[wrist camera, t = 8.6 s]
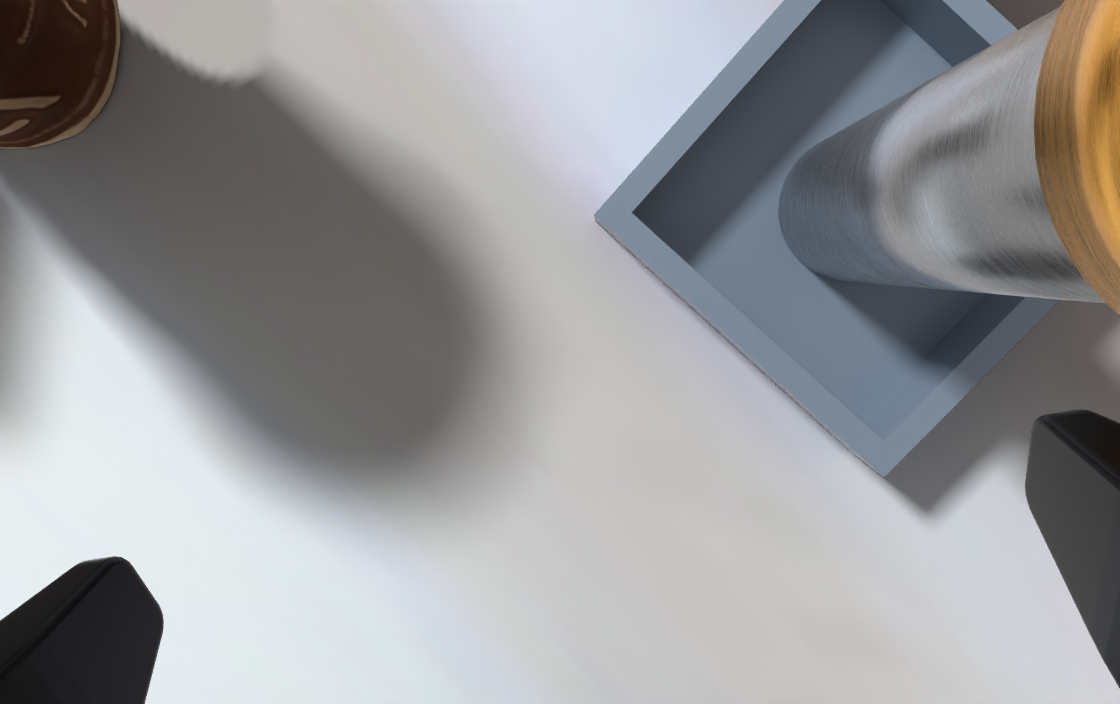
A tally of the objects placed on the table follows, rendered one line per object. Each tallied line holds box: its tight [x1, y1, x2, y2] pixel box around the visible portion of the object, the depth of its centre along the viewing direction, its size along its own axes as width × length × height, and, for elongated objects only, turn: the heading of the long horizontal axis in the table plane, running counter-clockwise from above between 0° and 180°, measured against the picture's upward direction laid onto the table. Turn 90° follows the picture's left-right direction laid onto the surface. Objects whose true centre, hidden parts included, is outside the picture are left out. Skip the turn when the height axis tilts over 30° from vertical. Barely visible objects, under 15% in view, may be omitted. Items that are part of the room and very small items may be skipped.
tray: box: [594, 0, 1060, 477], centre depth 19 cm, size 9×9×2 cm
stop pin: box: [778, 0, 1120, 315], centre depth 12 cm, size 5×5×14 cm
